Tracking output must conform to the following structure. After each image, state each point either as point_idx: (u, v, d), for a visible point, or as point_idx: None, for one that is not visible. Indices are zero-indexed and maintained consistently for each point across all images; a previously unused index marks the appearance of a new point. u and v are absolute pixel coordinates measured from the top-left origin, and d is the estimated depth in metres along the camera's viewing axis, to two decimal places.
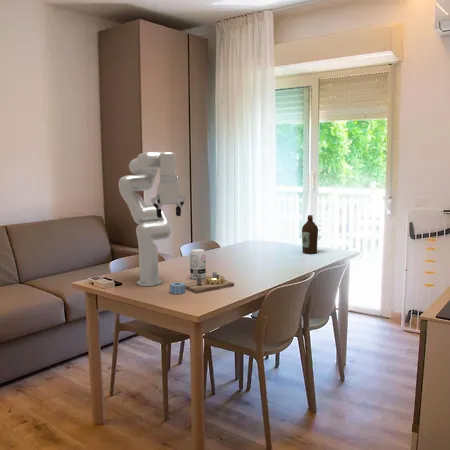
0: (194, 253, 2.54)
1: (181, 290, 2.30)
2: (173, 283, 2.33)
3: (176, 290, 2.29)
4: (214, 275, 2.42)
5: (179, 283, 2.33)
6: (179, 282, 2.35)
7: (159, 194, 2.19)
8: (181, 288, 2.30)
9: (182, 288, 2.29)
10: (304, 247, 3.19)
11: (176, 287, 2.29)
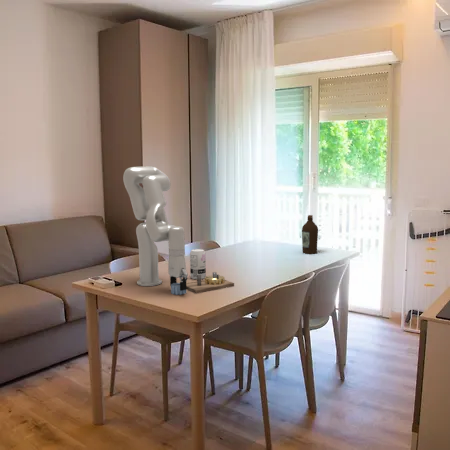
0: (194, 253, 2.54)
1: (182, 291, 2.29)
2: (174, 283, 2.32)
3: (177, 291, 2.28)
4: (214, 275, 2.42)
5: None
6: None
7: (184, 267, 2.27)
8: None
9: None
10: (304, 247, 3.19)
11: (177, 288, 2.28)
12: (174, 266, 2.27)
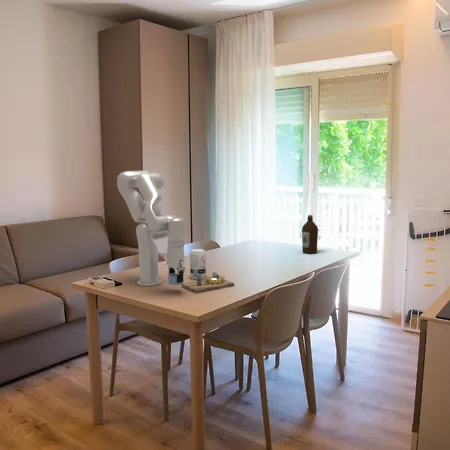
0: (194, 253, 2.54)
1: None
2: (171, 274, 2.33)
3: (174, 281, 2.29)
4: (214, 275, 2.42)
5: None
6: (177, 273, 2.35)
7: (183, 259, 2.27)
8: None
9: None
10: (304, 247, 3.19)
11: (174, 278, 2.29)
12: (173, 257, 2.27)
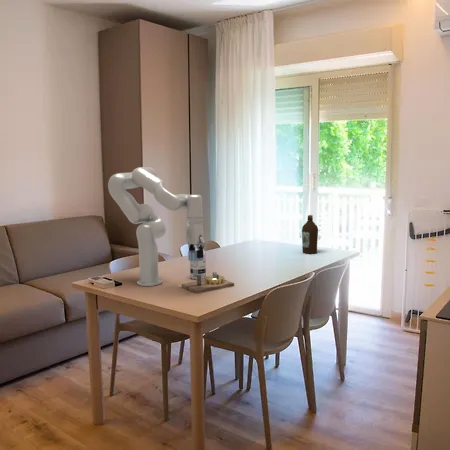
0: None
1: None
2: (191, 251, 2.36)
3: (194, 257, 2.32)
4: (214, 275, 2.42)
5: None
6: None
7: (202, 234, 2.31)
8: None
9: None
10: (304, 247, 3.19)
11: (194, 254, 2.32)
12: (192, 233, 2.31)
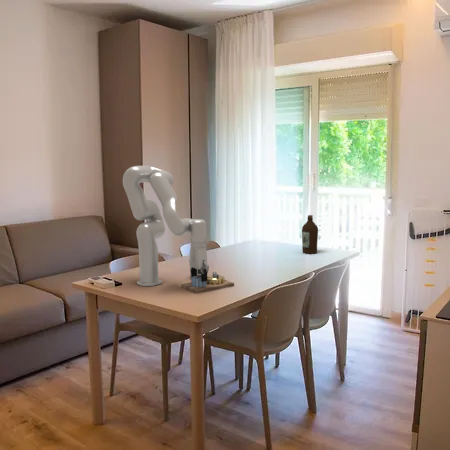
0: None
1: (203, 283, 2.36)
2: (194, 276, 2.39)
3: (198, 283, 2.35)
4: (214, 275, 2.42)
5: None
6: None
7: (206, 259, 2.34)
8: None
9: (204, 281, 2.36)
10: (304, 247, 3.19)
11: (198, 280, 2.35)
12: (196, 258, 2.34)
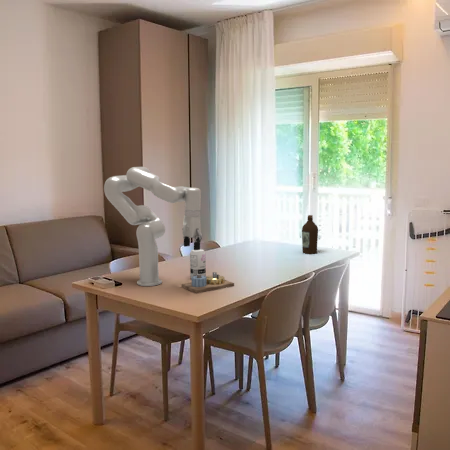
0: (194, 253, 2.54)
1: (203, 283, 2.36)
2: (194, 276, 2.39)
3: (198, 283, 2.35)
4: (214, 275, 2.42)
5: None
6: None
7: (199, 228, 2.32)
8: (203, 281, 2.36)
9: (204, 281, 2.36)
10: (304, 247, 3.19)
11: (198, 280, 2.35)
12: (189, 226, 2.32)
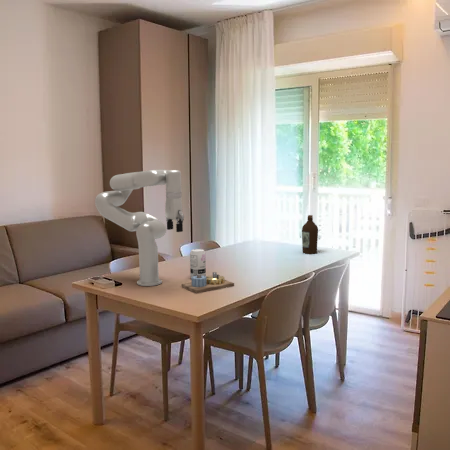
0: (194, 253, 2.54)
1: (203, 283, 2.36)
2: (194, 276, 2.39)
3: (198, 283, 2.35)
4: (214, 275, 2.42)
5: None
6: None
7: (181, 209, 2.33)
8: (203, 281, 2.36)
9: (204, 281, 2.36)
10: (304, 247, 3.19)
11: (198, 280, 2.35)
12: (171, 208, 2.33)
